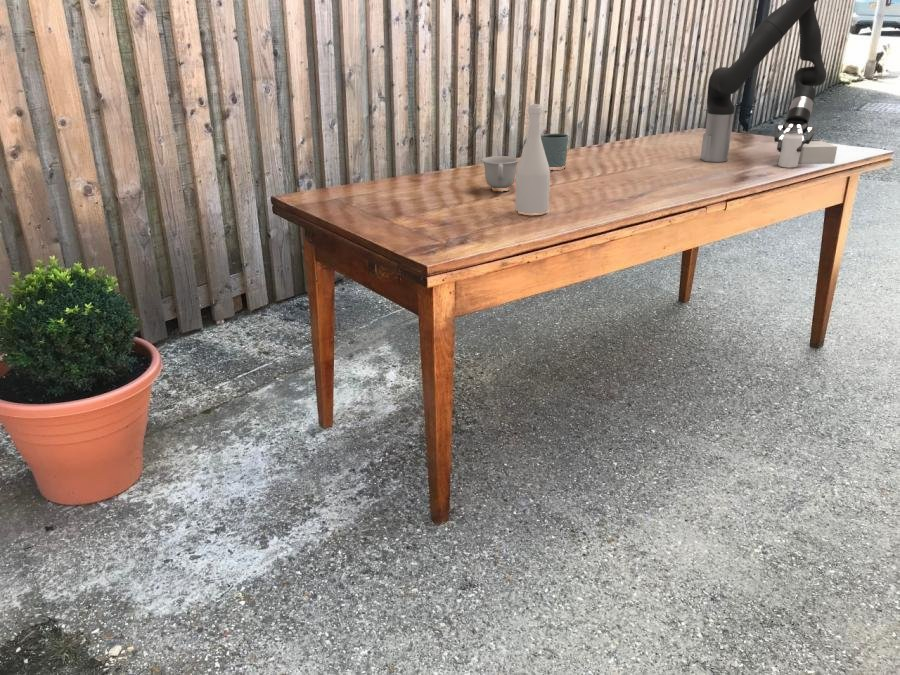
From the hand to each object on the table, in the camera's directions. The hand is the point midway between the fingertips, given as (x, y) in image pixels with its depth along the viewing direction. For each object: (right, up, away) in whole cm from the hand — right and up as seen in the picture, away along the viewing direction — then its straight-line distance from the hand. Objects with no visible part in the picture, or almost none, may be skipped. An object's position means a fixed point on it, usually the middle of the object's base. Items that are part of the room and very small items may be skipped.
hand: (788, 151), depth 258 cm
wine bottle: (-98, -31, -50) cm, 114 cm away
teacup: (-105, -20, -24) cm, 110 cm away
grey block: (+15, 0, +13) cm, 20 cm away
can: (+1, -5, +4) cm, 6 cm away
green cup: (-83, -5, +8) cm, 84 cm away
